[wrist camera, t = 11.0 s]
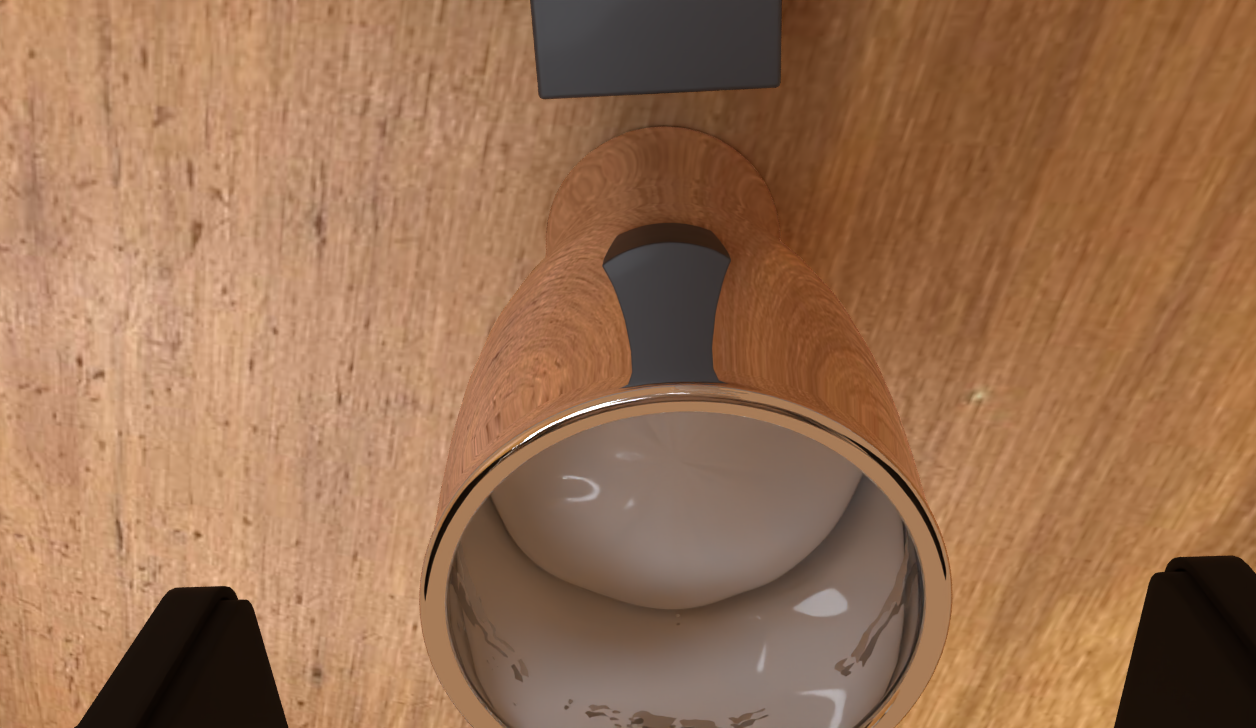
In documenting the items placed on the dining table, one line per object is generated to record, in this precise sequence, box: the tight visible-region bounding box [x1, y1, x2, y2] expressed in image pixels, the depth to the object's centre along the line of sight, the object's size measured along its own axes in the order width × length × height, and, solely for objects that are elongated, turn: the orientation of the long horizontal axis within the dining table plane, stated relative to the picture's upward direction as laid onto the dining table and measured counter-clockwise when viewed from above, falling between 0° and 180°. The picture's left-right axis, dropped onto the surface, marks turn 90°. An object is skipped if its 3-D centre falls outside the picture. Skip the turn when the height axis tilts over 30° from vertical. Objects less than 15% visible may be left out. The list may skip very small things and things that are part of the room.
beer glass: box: [419, 126, 952, 728], centre depth 19 cm, size 7×7×15 cm
